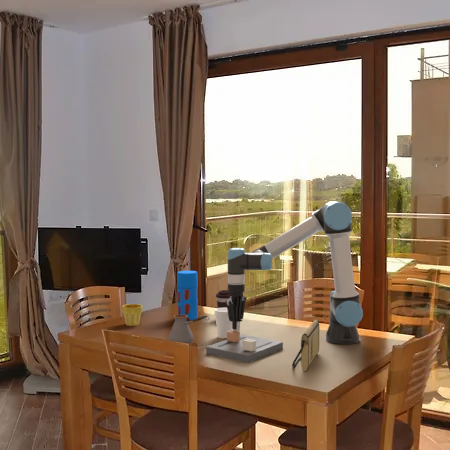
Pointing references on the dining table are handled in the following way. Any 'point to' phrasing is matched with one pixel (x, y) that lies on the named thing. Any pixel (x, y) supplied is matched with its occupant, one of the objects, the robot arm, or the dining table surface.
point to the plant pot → (132, 314)
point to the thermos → (187, 294)
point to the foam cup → (222, 322)
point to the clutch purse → (308, 346)
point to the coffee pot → (182, 329)
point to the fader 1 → (233, 336)
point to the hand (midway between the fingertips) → (236, 336)
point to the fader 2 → (249, 345)
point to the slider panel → (236, 353)
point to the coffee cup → (222, 298)
